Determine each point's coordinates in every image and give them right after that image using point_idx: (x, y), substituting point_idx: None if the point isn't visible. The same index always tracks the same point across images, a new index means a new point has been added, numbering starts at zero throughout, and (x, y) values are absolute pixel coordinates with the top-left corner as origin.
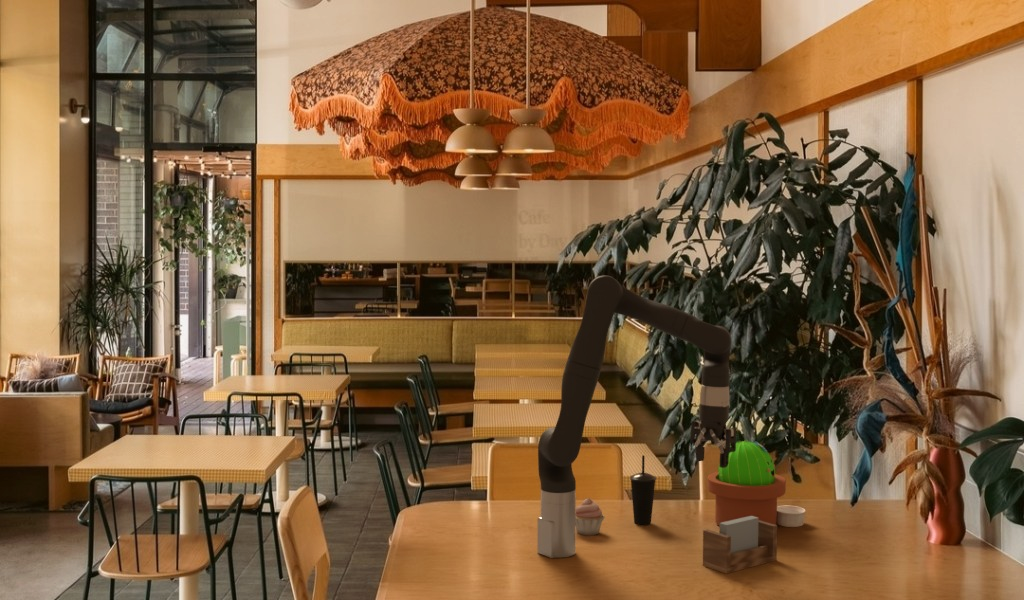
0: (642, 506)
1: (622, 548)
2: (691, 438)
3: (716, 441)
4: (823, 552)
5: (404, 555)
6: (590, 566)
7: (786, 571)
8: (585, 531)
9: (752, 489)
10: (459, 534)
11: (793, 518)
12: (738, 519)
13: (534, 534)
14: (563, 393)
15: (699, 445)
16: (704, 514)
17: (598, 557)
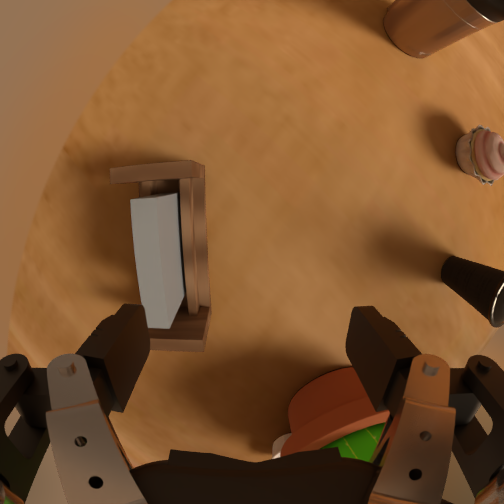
0: (467, 269)
1: (382, 121)
2: (497, 376)
3: (77, 434)
4: (154, 392)
5: None
6: (326, 12)
7: (100, 276)
8: (463, 136)
9: (307, 442)
10: (499, 42)
11: (277, 447)
12: (155, 272)
13: (484, 91)
14: None
15: (405, 382)
16: None
17: (361, 52)
